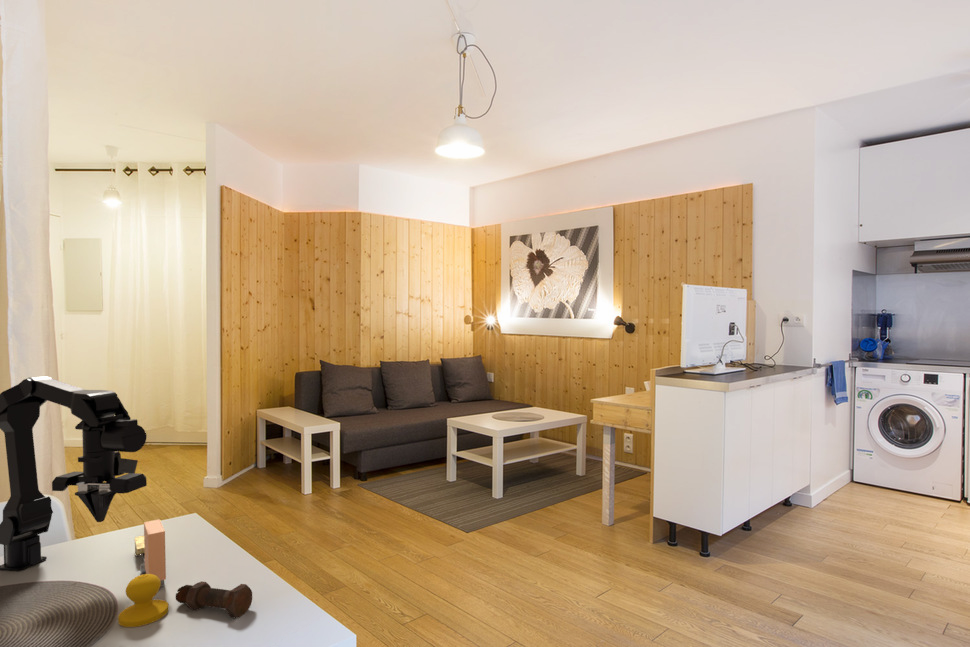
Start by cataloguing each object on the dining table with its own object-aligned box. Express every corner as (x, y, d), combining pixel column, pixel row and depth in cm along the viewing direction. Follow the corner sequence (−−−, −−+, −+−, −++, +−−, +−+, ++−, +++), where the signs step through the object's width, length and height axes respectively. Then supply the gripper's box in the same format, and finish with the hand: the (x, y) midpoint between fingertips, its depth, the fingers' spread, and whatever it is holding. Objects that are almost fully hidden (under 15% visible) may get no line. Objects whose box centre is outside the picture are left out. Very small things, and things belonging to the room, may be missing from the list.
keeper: (162, 559, 128) (162, 543, 128) (137, 564, 126) (136, 549, 126) (159, 547, 136) (158, 532, 136) (134, 552, 133) (134, 537, 133)
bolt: (185, 610, 109) (246, 619, 104) (165, 609, 105) (228, 618, 100) (195, 578, 111) (256, 585, 107) (176, 575, 107) (238, 583, 103)
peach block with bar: (145, 590, 112) (144, 535, 112) (136, 554, 130) (135, 507, 130) (169, 584, 115) (168, 530, 115) (157, 550, 133) (157, 503, 132)
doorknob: (175, 603, 108) (157, 625, 100) (131, 607, 107) (109, 629, 99) (174, 565, 108) (156, 584, 100) (130, 568, 107) (108, 588, 99)
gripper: (164, 442, 126) (166, 510, 126) (94, 441, 129) (95, 507, 129) (124, 454, 115) (126, 528, 115) (49, 452, 118) (50, 524, 118)
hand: (100, 521), depth 120 cm, fingers closed
